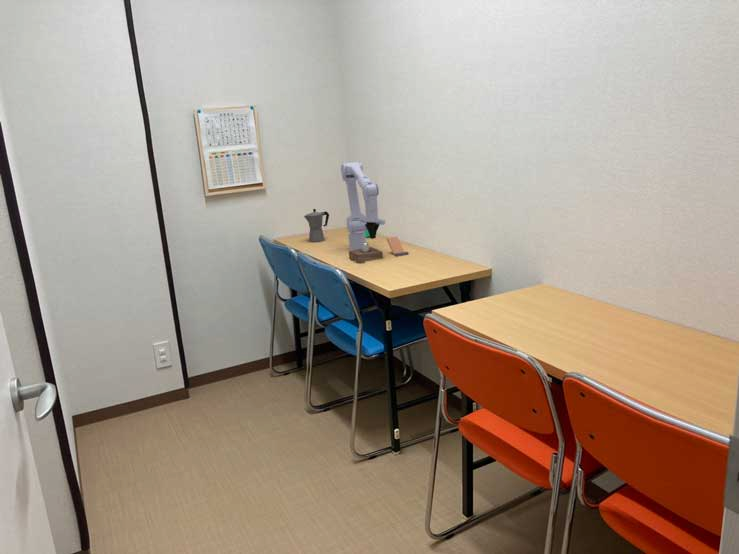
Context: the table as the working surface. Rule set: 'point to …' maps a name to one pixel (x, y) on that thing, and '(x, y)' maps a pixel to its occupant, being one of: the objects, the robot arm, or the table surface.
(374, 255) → the hitch block
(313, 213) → the coffeepot
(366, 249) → the steel peg
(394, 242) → the latch flap
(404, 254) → the latch bracket
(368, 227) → the robot arm
